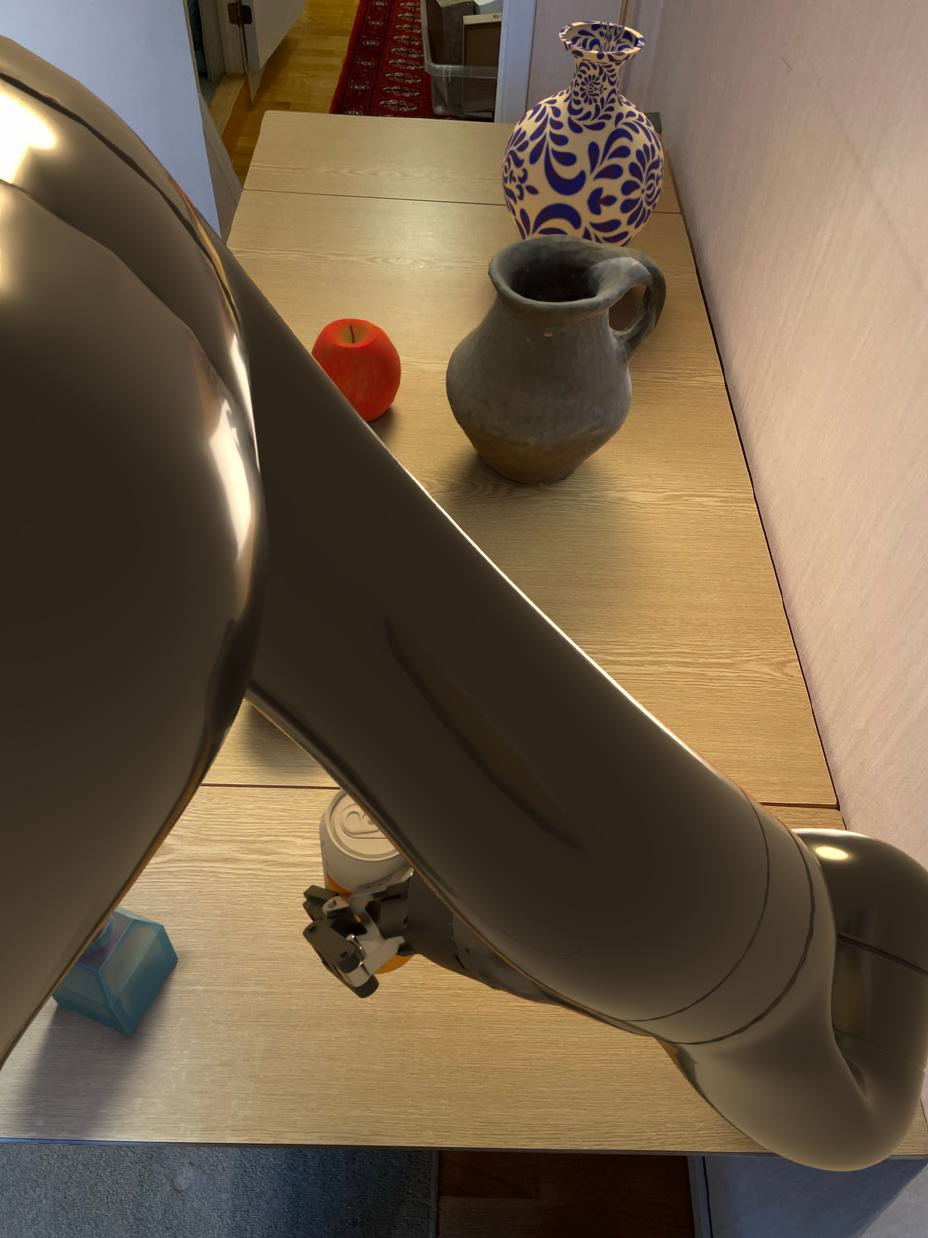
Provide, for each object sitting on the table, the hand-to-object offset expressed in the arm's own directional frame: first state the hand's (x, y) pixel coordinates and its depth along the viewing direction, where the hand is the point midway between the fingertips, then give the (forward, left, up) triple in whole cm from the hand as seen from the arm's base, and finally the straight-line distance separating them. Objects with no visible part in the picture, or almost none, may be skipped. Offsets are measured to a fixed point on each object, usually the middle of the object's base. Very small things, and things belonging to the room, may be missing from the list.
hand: (356, 864), depth 60 cm
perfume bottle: (+2, +18, -18) cm, 26 cm away
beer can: (-2, -1, -8) cm, 8 cm away
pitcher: (+58, -25, -18) cm, 66 cm away
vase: (+98, -38, -18) cm, 107 cm away
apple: (+69, -5, -18) cm, 71 cm away
